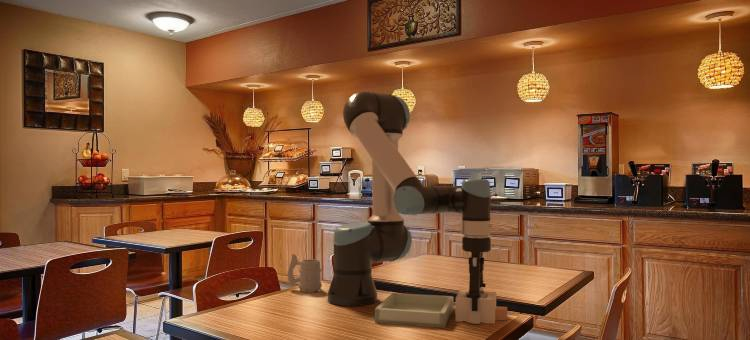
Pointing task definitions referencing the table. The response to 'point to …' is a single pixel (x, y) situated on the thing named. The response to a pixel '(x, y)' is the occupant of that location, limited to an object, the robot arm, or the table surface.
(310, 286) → the mug
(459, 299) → the beige recessed block
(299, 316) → the table surface
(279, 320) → the table surface
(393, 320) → the tray
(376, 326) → the table surface
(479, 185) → the robot arm
